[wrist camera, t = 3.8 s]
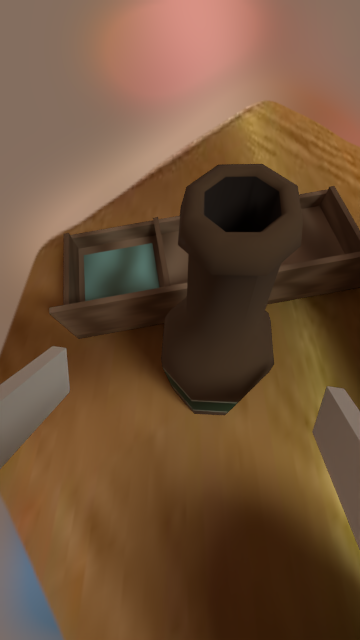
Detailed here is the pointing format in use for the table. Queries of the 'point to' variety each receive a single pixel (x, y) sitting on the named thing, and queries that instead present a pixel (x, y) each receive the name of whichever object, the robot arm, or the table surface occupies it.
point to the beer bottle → (229, 283)
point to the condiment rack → (172, 268)
